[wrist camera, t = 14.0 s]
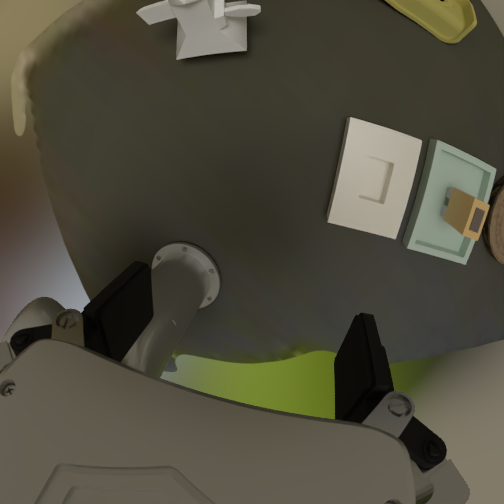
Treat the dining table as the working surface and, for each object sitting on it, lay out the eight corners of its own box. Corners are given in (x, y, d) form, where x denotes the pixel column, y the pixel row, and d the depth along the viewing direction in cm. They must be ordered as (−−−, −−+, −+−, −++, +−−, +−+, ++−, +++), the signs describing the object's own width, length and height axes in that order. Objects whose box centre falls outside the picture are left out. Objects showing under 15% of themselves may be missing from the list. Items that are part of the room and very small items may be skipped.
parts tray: (459, 257, 35) (465, 264, 33) (401, 241, 37) (407, 248, 34) (487, 166, 28) (496, 169, 26) (429, 138, 30) (437, 139, 27)
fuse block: (389, 231, 37) (395, 239, 34) (326, 215, 38) (327, 222, 35) (413, 139, 30) (422, 140, 28) (346, 118, 31) (350, 117, 29)
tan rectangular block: (452, 220, 33) (478, 241, 26) (437, 215, 33) (463, 235, 26) (461, 190, 31) (490, 205, 24) (447, 184, 31) (475, 198, 24)
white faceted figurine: (269, 56, 30) (249, 19, 17) (173, 66, 32) (117, 47, 20) (268, 7, 26) (248, -41, 14) (175, 20, 28) (124, -10, 16)
